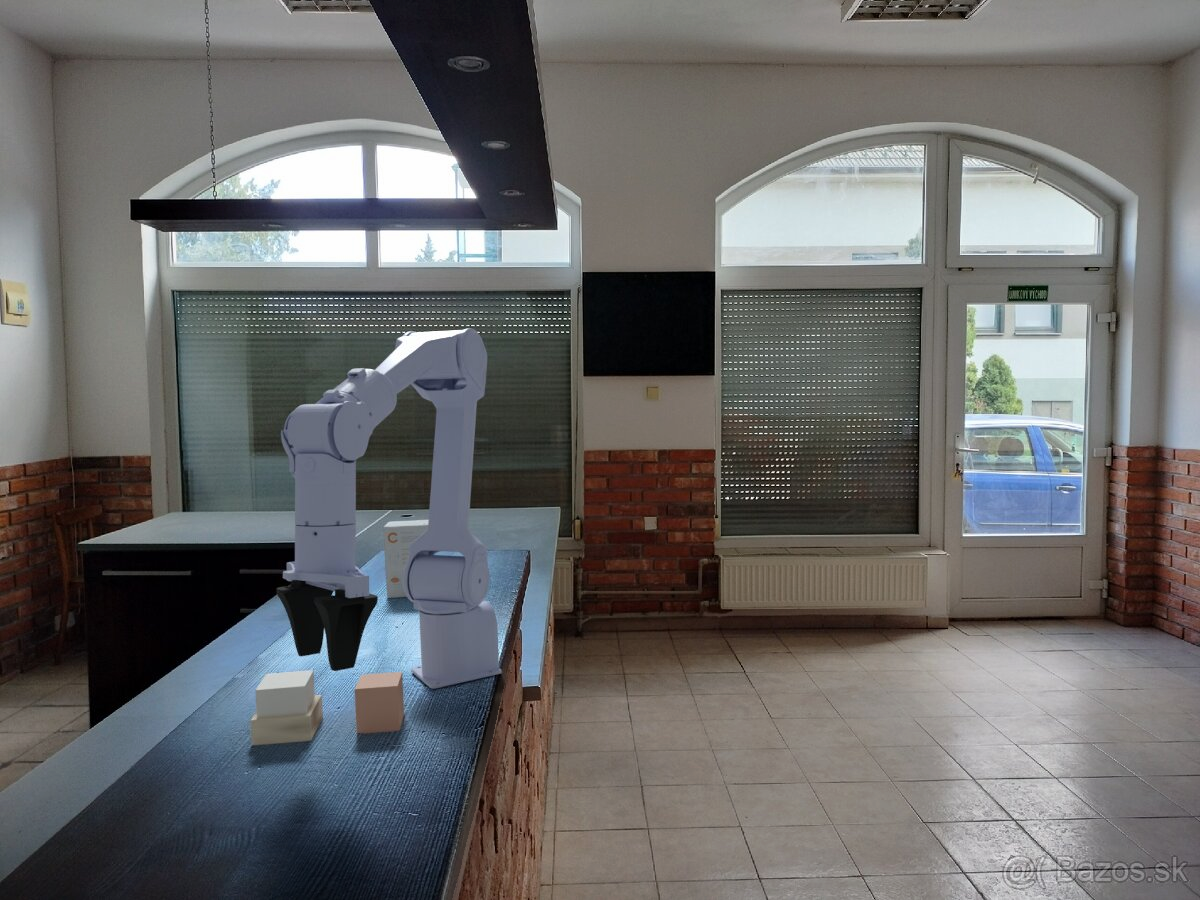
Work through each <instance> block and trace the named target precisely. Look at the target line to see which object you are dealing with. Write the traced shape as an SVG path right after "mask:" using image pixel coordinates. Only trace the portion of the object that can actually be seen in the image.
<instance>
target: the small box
mask: <svg viewBox="0 0 1200 900" xmlns="http://www.w3.org/2000/svg"><path fill="white" fill-rule="evenodd" d="M428 521H429V519H417V520H394V521H388V522H387V523H386V524H385V525H384V526H383V527H382V531H383V547H384V562H385V563H384V564H385V565H384V566H385V567H384V568H385V582H386V584H385V585H386V596H387V599H393V598H394V599H396V598H397V599H398V598H407V596H406V594H405V591H404V588H403V572H404V569H405V566H406V564H407V561H408V557H409V551H410V545H411V543H412V542H414V541H415V540H416V539H417V538H418V537H420V536H421V535H422V534H423V533H425V532H426V531H427V530H428Z"/></svg>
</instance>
